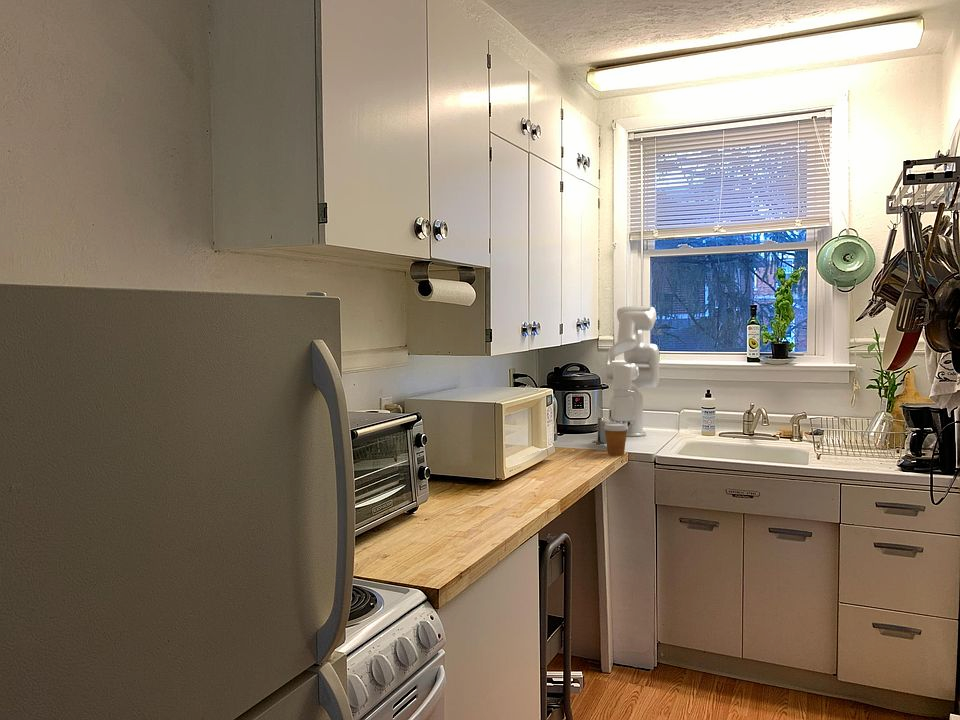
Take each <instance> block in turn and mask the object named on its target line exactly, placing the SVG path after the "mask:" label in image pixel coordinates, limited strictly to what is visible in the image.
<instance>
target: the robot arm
mask: <svg viewBox="0 0 960 720" xmlns="http://www.w3.org/2000/svg"><path fill="white" fill-rule="evenodd" d="M616 318H617V321H618V330H617V331H618V333H617V341H616V342H615V343H614V344H613V345H612V346H611V347H610V348H609V350H608V351H607V353H606V355H605V358H604V359H605V360H604V367H603V373H604V377H605V379H606V380H609V381H612V396H611V397H610V399H609V406H608V420H609V421H608V422H609V423H625V424H627V426H628V430H627V435H626V437H643V436H646V435H647V432H646V431H644V430H643V429H644V428H643V427H644V422H643V421H644V397H643V394H642V392H640V390H639V389H640V388H641V389H643V388H649V389H650V388H651V389H652V388H657V387H658V385H659V382H660V350H659V347H658V345H657V344H656V343H648V342H647V343H645V342H643V334H644V333H643V331H644V332H646V331H651V330H653V328H654V325H655V324H656V320H657V312H656V308H654V307H653V306H650V305H649V306H648V305H647V306H645V305H643V306H635V305H634V306H633V305H632V306H622V307H619V308H618V309H617V311H616ZM622 354H623V359H624V362H613V361H614V359H615V358H616V357H617V356H620V355H622ZM638 365H647V366H638ZM638 388H639V389H638Z"/></svg>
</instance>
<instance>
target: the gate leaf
mask: <svg viewBox="0 0 960 720" xmlns="http://www.w3.org/2000/svg"><path fill="white" fill-rule="evenodd" d="M606 423H609V421H608V420H604V419H603V420H600V441H601V442H603V443H605V444H604V445H607V443H606V434H605V429H604V426H605V424H606Z"/></svg>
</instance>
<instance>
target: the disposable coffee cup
mask: <svg viewBox="0 0 960 720" xmlns="http://www.w3.org/2000/svg"><path fill="white" fill-rule="evenodd" d="M604 429H605V434H606V443H607V444H606V450H607V455H608V454H609V455H608V456H615V457H617V456H618V457H621V456H624V455H625V450H626V441H627V436H626V435H627V430H628V426H627V424H625V423H622V422H621V423H606V424H605V426H604Z"/></svg>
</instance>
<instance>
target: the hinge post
mask: <svg viewBox="0 0 960 720" xmlns="http://www.w3.org/2000/svg"><path fill="white" fill-rule="evenodd" d="M600 420H604V417H597V440H596V439H595V440H592V441H591V443H592V444H593V443H596V444H595V445H600V444H603V445H606V444H605V443H603V442H601V441H600Z"/></svg>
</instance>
